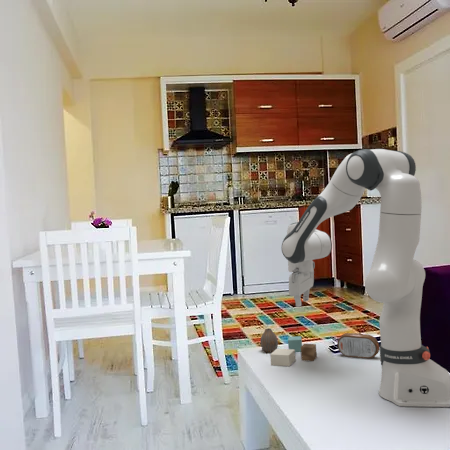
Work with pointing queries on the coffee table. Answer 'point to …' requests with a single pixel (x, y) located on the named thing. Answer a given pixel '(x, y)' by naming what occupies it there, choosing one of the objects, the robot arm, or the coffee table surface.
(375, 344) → the tin
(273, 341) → the vase
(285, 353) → the limestone block
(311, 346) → the walnut block
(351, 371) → the coffee table surface
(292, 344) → the teal cube
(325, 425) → the coffee table surface
